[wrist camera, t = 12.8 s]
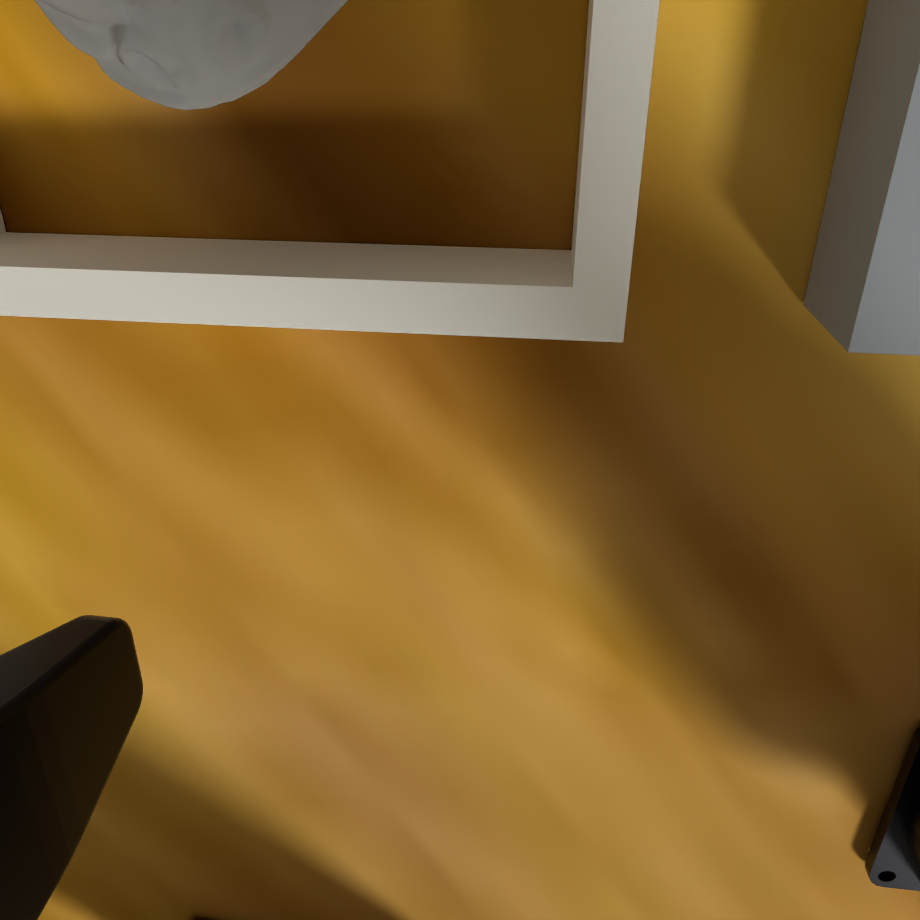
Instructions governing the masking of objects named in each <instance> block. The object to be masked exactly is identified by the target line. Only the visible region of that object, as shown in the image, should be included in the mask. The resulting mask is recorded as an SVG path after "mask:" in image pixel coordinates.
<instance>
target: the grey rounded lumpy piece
mask: <svg viewBox="0 0 920 920" xmlns="http://www.w3.org/2000/svg"><path fill="white" fill-rule="evenodd" d="M35 1H36V3H37V4H38V5H39V7H40V8H41V9H42V11H43V12H44V13H45V15H46V16H47V17H48V19H49V20H50V21H51V23H52V24H53V25H54V26H55V27H56V28H57V29H58V30H59V31H60V32H61V34H62V35H63V36H64V37H65V38H66V39H67V40H68V41H69V42H70V43H72V44H73V45H74V46H75V47H76V48H77V49H79V50H81V51H82V52H84V53H86V54H88V55H90V56H92V57H94V58H95V59H96V61H97V62H98V64H99V65H100V67H101V69H102V70H103V71H104V72H105V73H106V74H107V75H108V76H109V77H110V78H111V79H112V80H114V81H115V82H117V83H118V84H119V85H121V86H122V87H124V88H126V89H128V90H130V91H132V92H134V93H135V94H137V95H139V96H140V97H143V98H145V99H148V100H151V101H153V102H156V103H158V104H161V105H164V106H166V107H170V108H176V109H183V110H192V109H203V108H211V107H213V106H216V105H218V104H221V103H225V102H230V101H234V100H236V99H238V98H240V97H242V96H244V95H246V94H247V93H249V92H251V91H253V90H255V89H257V88H258V87H260V86H262V85H264V84H265V83H267V82H268V81H269V79H271V78H272V77H273V76H274V75H275V74H276V73H277V72H278V71H280V70H281V69H282V68H284V67H285V66H286V65H287V64H288V63H289V62H290V61H291V60H292V59H293V58H294V57H295V56H296V55H297V54H298V53H299V52H300V51H301V50H302V49H303V48H304V47H305V45H306V44H307V43H308V42H309V41H310V40H311V39H312V38H313V37H314V36H315V35H316V34H317V33H318V32H319V31H320V30H321V29H322V28H323V27H324V26H325V24H326V23H327V22H328V21H329V20H330V19H331V18H332V17H333V16H334V15H335V14H336V13H337V12H338V11H339V9H340V8H341V7H342V6H343V5H344V4H345V3H346V2H347V1H348V0H35Z"/></svg>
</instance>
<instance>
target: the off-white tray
mask: <svg viewBox="0 0 920 920" xmlns="http://www.w3.org/2000/svg"><path fill="white" fill-rule="evenodd" d="M659 2H660V0H589V10H588V24H587V38H586V53H585V67H584V81H583V95H582V109H581V123H580V137H579V152H578V166H577V180H576V194H575V208H574V222H573V236H572V250H548V249H516V248H485V247H453V246H422V245H390V244H359V243H328V242H296V241H265V240H233V239H202V238H170V237H139V236H107V235H76V234H45V233H13V232H6V229H5V225H4V221H3V217H2V213H1V210H0V315H1V316H24V317H47V318H70V319H93V320H116V321H139V322H162V323H185V324H208V325H231V326H254V327H277V328H300V329H323V330H346V331H369V332H392V333H415V334H438V335H461V336H484V337H507V338H530V339H553V340H576V341H599V342H622V343H623V339H624V330H625V321H626V311H627V302H628V292H629V283H630V274H631V264H632V255H633V246H634V236H635V227H636V218H637V208H638V199H639V190H640V180H641V171H642V161H643V152H644V143H645V133H646V124H647V115H648V105H649V96H650V87H651V77H652V68H653V58H654V49H655V40H656V30H657V21H658V12H659Z"/></svg>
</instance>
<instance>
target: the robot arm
mask: <svg viewBox="0 0 920 920" xmlns="http://www.w3.org/2000/svg"><path fill="white" fill-rule="evenodd" d="M142 695H143V683H142V677H141V673H140V668H139V663H138V659H137V654H136V650H135V645H134V641H133V636H132V632H131V629H130V627H129V625H128V624H127V623H126V622H125V621H124V620H122V619H119V618H113V617H103V616H94V615H85V616H80V617H78V618H75V619H73V620H71V621H69V622H67V623H65V624H63V625H61V626H59V627H57V628H55V629H53V630H51V631H49V632H47V633H45V634H43V635H41V636H39V637H37V638H35V639H33V640H31V641H29V642H27V643H24V644H22V645H20V646H18V647H16V648H14V649H12V650H10V651H8V652H6V653H4V654H2V655H0V920H37V919H38V917H39V916H40V914H41V912H42V910H43V909H44V907H45V905H46V903H47V902H48V900H49V898H50V896H51V895H52V893H53V891H54V889H55V888H56V886H57V884H58V882H59V880H60V879H61V877H62V875H63V873H64V871H65V869H66V867H67V866H68V864H69V862H70V860H71V858H72V856H73V854H74V852H75V850H76V848H77V846H78V844H79V842H80V840H81V838H82V835H83V833H84V831H85V829H86V827H87V825H88V822H89V820H90V818H91V816H92V813H93V811H94V809H95V807H96V804H97V802H98V800H99V798H100V795H101V793H102V791H103V789H104V786H105V784H106V782H107V780H108V778H109V775H110V773H111V771H112V769H113V766H114V764H115V762H116V760H117V757H118V755H119V753H120V751H121V748H122V746H123V744H124V742H125V740H126V737H127V735H128V733H129V731H130V728H131V726H132V724H133V722H134V719H135V717H136V715H137V713H138V710H139V708H140V704H141V701H142ZM865 868H866V871H867V874H868V876H869V879H870V880H871V882H872V883H873V884H875V885H877V886H881V887H889V888H898V889H907V890H916V891H920V727H918V728H917V730H916V731H915V733H914V735H913V738H912V740H911V743H910V745H909V748H908V751H907V753H906V756H905V759H904V761H903V764H902V767H901V769H900V772H899V774H898V777H897V780H896V782H895V785H894V788H893V790H892V793H891V796H890V798H889V801H888V804H887V806H886V809H885V811H884V814H883V817H882V819H881V822H880V825H879V827H878V830H877V833H876V835H875V838H874V840H873V843H872V846H871V848H870V851H869V854H868V856H867V859H866V862H865Z"/></svg>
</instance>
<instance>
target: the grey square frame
mask: <svg viewBox="0 0 920 920" xmlns="http://www.w3.org/2000/svg"><path fill="white" fill-rule="evenodd" d="M803 305H804V306H805V307H806V308H807V309H808V310H809V311H810V312H811V314H812V315H813V316H814V317H815V318H816V319H817V320H818V321H819V322H820V323H821V324H822V325H823V326H824V327H825V328H826V329H827V331H828V332H829V333H830V334H831V335H832V336H833V337H834V338H835V339H836V340H837V341H838V342H839V343H840V344H841V345H842V346H843V347H844V349H845V350H846V351H847V352H852V353H875V354H898V355H920V0H868V5H867V9H866V14H865V19H864V23H863V28H862V33H861V38H860V42H859V47H858V52H857V56H856V61H855V66H854V70H853V75H852V80H851V84H850V89H849V94H848V98H847V103H846V108H845V112H844V117H843V122H842V126H841V131H840V136H839V141H838V145H837V150H836V155H835V159H834V164H833V169H832V173H831V178H830V183H829V187H828V192H827V197H826V201H825V206H824V211H823V215H822V220H821V225H820V229H819V234H818V239H817V244H816V248H815V253H814V258H813V262H812V267H811V272H810V276H809V281H808V286H807V290H806V295H805V300H804V304H803Z"/></svg>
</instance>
